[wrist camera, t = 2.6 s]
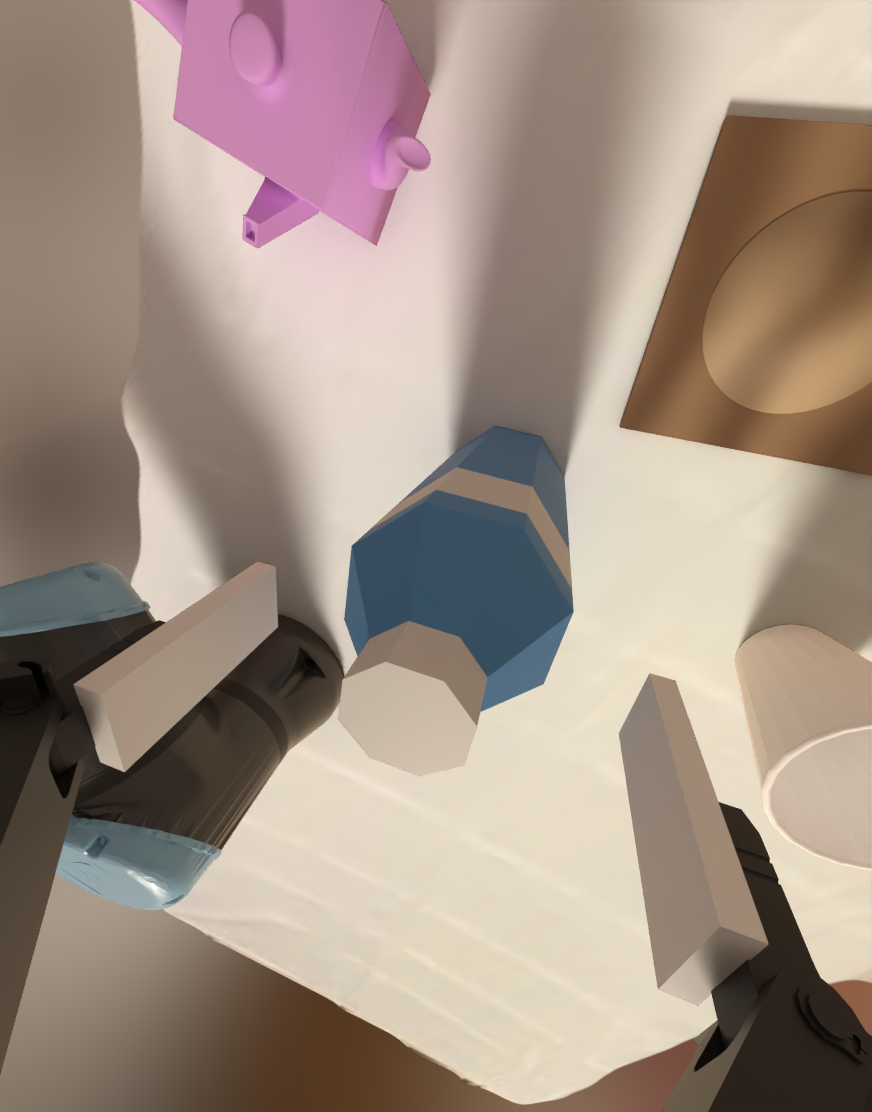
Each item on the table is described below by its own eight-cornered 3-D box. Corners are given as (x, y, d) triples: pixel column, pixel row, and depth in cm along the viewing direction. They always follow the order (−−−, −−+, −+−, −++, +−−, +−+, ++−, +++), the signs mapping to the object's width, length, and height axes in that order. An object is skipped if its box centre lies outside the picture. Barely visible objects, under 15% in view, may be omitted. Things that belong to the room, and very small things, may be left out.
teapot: (206, 201, 30) (69, 139, 22) (251, -62, 24) (81, -295, 15) (416, 331, 30) (360, 320, 22) (515, 103, 24) (493, -39, 16)
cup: (684, 616, 34) (744, 736, 23) (870, 577, 29) (1053, 704, 19) (716, 724, 38) (780, 873, 27) (886, 705, 33) (1049, 875, 22)
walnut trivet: (619, 426, 30) (620, 427, 29) (723, 121, 22) (728, 114, 22) (873, 474, 27) (880, 477, 26) (1085, 147, 20) (1102, 140, 19)
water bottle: (491, 399, 31) (335, 493, 9) (591, 474, 31) (671, 736, 9) (426, 495, 35) (216, 713, 14) (514, 559, 36) (447, 872, 14)
